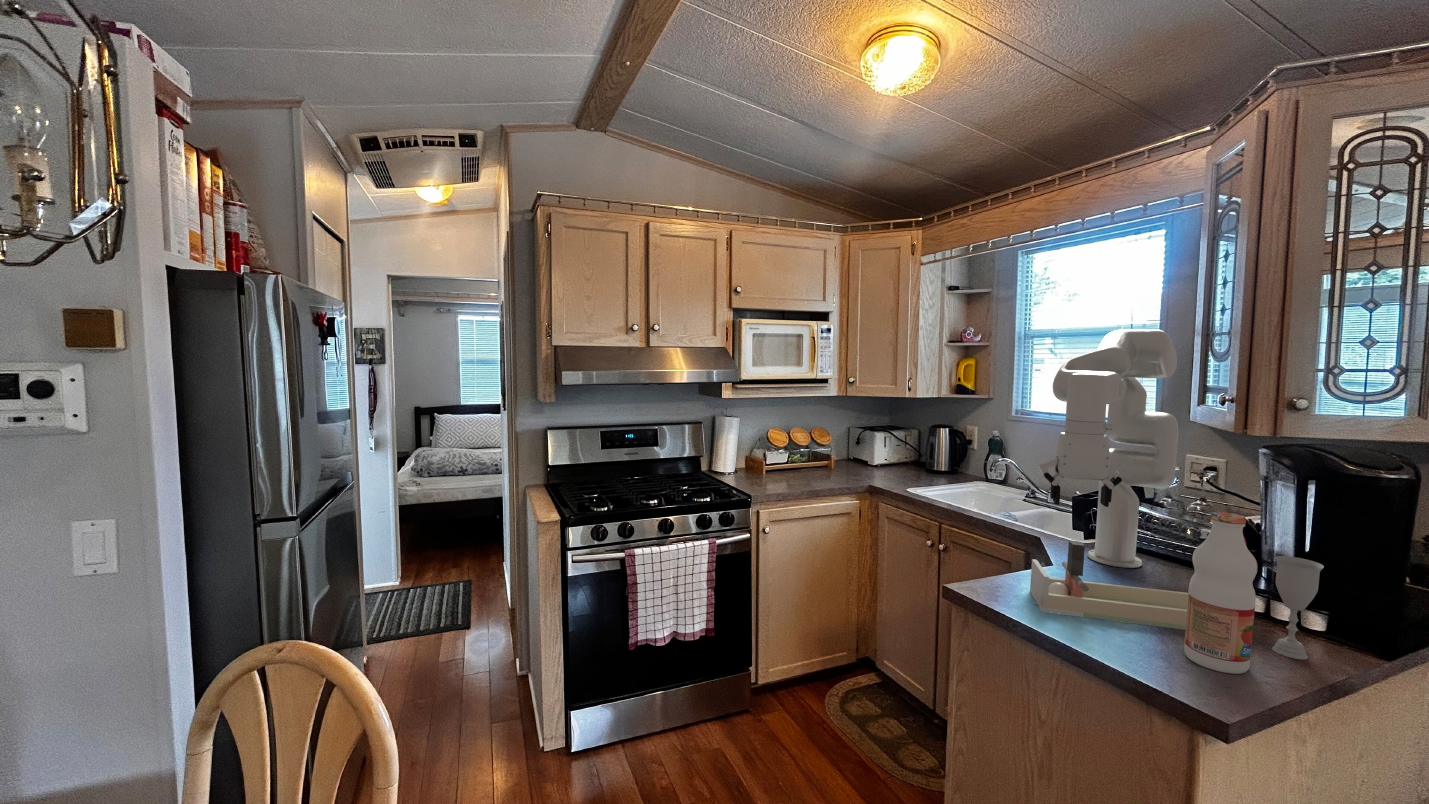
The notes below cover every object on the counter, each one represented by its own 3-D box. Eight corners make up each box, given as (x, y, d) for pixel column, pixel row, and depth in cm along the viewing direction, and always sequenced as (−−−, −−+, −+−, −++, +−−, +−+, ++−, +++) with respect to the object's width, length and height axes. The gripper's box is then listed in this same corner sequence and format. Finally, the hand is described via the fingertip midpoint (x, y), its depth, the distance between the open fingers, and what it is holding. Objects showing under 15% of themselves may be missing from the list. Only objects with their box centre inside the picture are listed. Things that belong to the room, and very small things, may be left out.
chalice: (1267, 640, 120) (1275, 553, 119) (1314, 652, 115) (1324, 562, 114) (1264, 652, 115) (1273, 561, 113) (1314, 666, 110) (1324, 571, 109)
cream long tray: (1030, 591, 143) (1032, 559, 142) (1187, 610, 134) (1189, 575, 133) (1042, 611, 132) (1044, 576, 131) (1214, 633, 123) (1217, 595, 122)
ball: (1068, 594, 137) (1049, 598, 138) (1062, 577, 137) (1043, 581, 138) (1073, 600, 133) (1054, 604, 134) (1067, 583, 133) (1048, 588, 135)
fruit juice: (1175, 645, 117) (1187, 506, 115) (1235, 655, 114) (1248, 511, 111) (1194, 668, 108) (1207, 518, 106) (1259, 679, 105) (1274, 524, 103)
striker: (1057, 586, 143) (1061, 532, 142) (1068, 587, 142) (1072, 533, 141) (1077, 613, 128) (1081, 553, 127) (1090, 614, 127) (1094, 554, 126)
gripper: (1123, 427, 133) (1117, 502, 135) (1037, 424, 138) (1033, 496, 140) (1136, 432, 126) (1130, 511, 128) (1045, 428, 131) (1041, 504, 133)
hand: (1079, 503), depth 134 cm, fingers open, 9 cm apart
